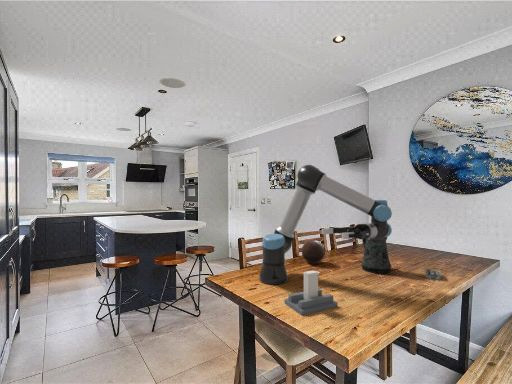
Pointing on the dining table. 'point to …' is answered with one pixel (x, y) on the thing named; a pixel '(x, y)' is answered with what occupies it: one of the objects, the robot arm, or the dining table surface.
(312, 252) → the wooden sphere
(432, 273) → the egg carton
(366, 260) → the black irregular block
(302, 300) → the rack
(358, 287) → the dining table surface
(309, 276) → the white rectangular block
